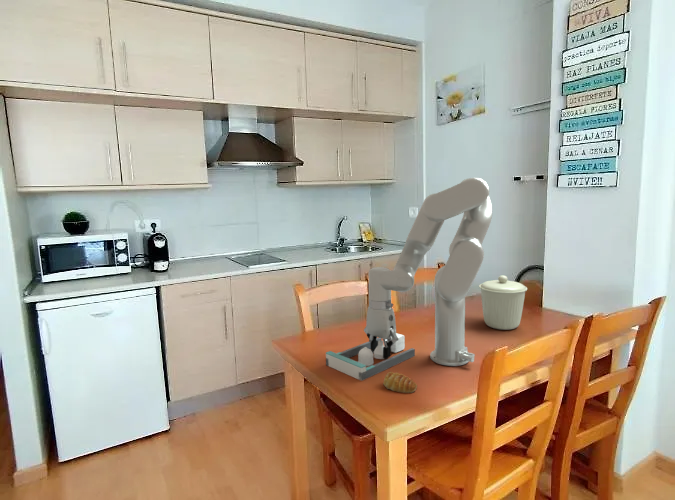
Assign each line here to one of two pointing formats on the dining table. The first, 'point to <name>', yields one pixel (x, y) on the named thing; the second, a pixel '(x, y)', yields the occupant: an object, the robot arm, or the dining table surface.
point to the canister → (502, 303)
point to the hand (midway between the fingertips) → (380, 354)
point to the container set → (380, 351)
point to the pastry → (399, 383)
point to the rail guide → (359, 370)
